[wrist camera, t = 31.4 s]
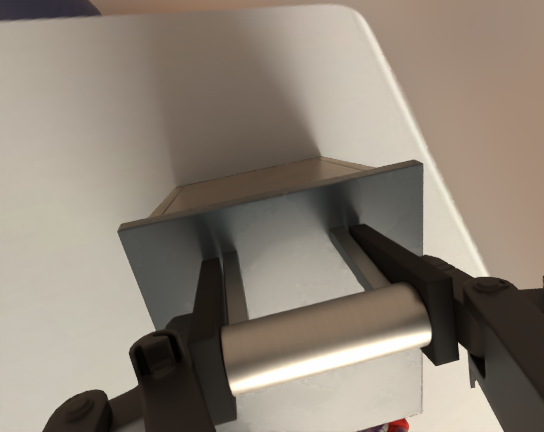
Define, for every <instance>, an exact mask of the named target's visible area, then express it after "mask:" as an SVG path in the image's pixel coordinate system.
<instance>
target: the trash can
mask: <svg viewBox="0 0 544 432" xmlns="http://www.w3.org/2000/svg"><path fill="white" fill-rule="evenodd" d="M374 168H375V167H370V166H365V165H361V164H356V163H351V162H346V161H341V160H337V159H332V158H327V157H322V156H321V157H316V158H311V159H307V160H302V161H297V162H293V163H288V164H283V165H279V166H274V167H269V168H265V169H260V170H255V171H251V172H246V173H241V174H237V175H232V176H227V177H223V178H218V179H213V180H208V181H204V182H199V183H194V184H190V185H185V186H180V187H176V188H175V189H174V190H173V191H172V192H171V193H170V194H169V196H168V197H167V198H166V199H165V200H164V201H163V202H162V203H161V204H160V205H159V206H158V207H157V208H156V210H155V211H154V212H153V213H152V214H151V215H150V216H149V217H148V218H151V217H155V216H160V215H164V214H169V213H173V212H178V211H182V210H187V209H191V208H196V207H201V206H205V205H210V204H214V203H219V202H223V201H228V200H232V199H237V198H242V197H246V196H251V195H255V194H260V193H264V192H269V191H273V190H278V189H283V188H287V187H292V186H296V185H301V184H305V183H310V182H314V181H319V180H324V179H328V178H333V177H337V176H342V175H346V174H351V173H355V172H360V171H364V170H369V169H374Z"/></svg>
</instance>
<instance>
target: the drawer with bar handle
mask: <svg viewBox="0 0 544 432" xmlns="http://www.w3.org/2000/svg"><path fill="white" fill-rule="evenodd" d="M364 223H365V224H367V225H368V226H370V227H371V228H373V229H375V230H376V231H378V232H380V233H381V234H383V235H384V236H386V237H388V238H389V239H391V240H393V241H394V242H396V243H398V244H399V245H401V246H402V247H404V248H406V249H407V250H409V251H411V252H412V253H414V254H416V255H417V256H423V163H421V162H419V161H416V160H410V161H405V162H401V163H396V164H392V165H387V166H383V167H378V168H374V169H369V170H364V171H360V172H355V173H351V174H346V175H342V176H337V177H333V178H328V179H324V180H319V181H314V182H310V183H305V184H301V185H296V186H292V187H287V188H283V189H278V190H273V191H269V192H264V193H260V194H255V195H251V196H246V197H242V198H237V199H232V200H228V201H223V202H219V203H214V204H210V205H205V206H201V207H196V208H191V209H187V210H182V211H178V212H173V213H169V214H164V215H160V216H155V217H151V218H146V219H141V220H137V221H132V222H128V223H123V224H121V225H120V227H119V229H118V231H117V232H118V235H119V237H120V240H121V243H122V245H123V248H124V250H125V253H126V255H127V258H128V260H129V263H130V265H131V268H132V271H133V273H134V276H135V278H136V281H137V283H138V286H139V288H140V291H141V294H142V296H143V299H144V301H145V304H146V306H147V309H148V311H149V314H150V317H151V319H152V322H153V324H154V327H155V329H156V331H158V330H163V329H165V326H166V325H167V324H168V323H169V322H170V320H171V319H172V318H173V317H176V316H180V315H184V314H188V313H192V312H193V307H194V301H195V296H196V290H197V285H198V279H199V274H200V268H201V263H202V261H204V260H208V259H213V258H217V257H219V260H220V264H221V268H222V273H223V277H224V286H225V299H226V312H227V325H226V326H222V327H221V328H220V348H221V355H222V361H223V367H224V371H225V376H226V380H227V384H228V387H229V390H230V392H231V394H232V396H233V397H236V407H237V420H235V421H231V422H227V423H224V424H220V425H216V426H215V429H216V431H217V432H357V431H360V430H364V429H368V428H371V427H375V426H378V425H382V424H385V423H389V422H392V421H396V420H399V419H403V418H407V417H410V416H414V415H417V414H421V413H422V351H421V350H420V349H419V348H421V347H424V346H427V345H429V344H430V342H431V340H432V325H431V320H430V317H429V313H428V310H427V308H426V305H425V303H424V301H423V299H422V297H421V296H420V294H419V293H418V291H417V290H416V289H415V287H414V286H413V285H411V284H410V283H408V282H399V283H395V284H391V283H390V282H389V280H388V279H387V278H386V277H385V276H384V274H383V273H382V272H381V271H380V270H379V268H378V267H377V266H376V265H375V264H374V262H373V261H372V260H371V259H370V258H369V256H368V255H367V254H366V253H365V252H364V251H363V249H362V248H361V247H360V246H359V245H358V243H357V242H356V241H355V240H354V239H353V237H352V236H351V235H350V231H349V227H351V226H355V225H360V224H364ZM357 280H358V281H359V283H360V284H361V285H360V284H359V283H358V281H357Z"/></svg>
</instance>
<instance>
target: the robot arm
mask: <svg viewBox="0 0 544 432" xmlns="http://www.w3.org/2000/svg"><path fill="white" fill-rule="evenodd" d="M349 231H350V235H351V236H352V237H353V239H354V240H355V241H356V242H357V243H358V245H359V246H360V247H361V248H362V249H363V251H364V252H365V253H366V254H367V255H368V256H369V258H370V259H371V260H372V261H373V262H374V264H375V265H376V266H377V267H378V268H379V270H380V271H381V272H382V273H383V274H384V276H385V277H386V278H387V279H388V280H389V282H390V283H391V284H395V283H399V282H408V283H410V284H411V285H413V286H414V287H415V289H416V290H417V291H418V293H419V294H420V296H421V297H422V299H423V301H424V303H425V305H426V308H427V310H428V313H429V317H430V320H431V325H432V340H431V342H430V344H429V345H427V346H424V347H421V348H419V349H420V350H421V351H422V352H423V353H424V354H425V355H426V356H427V357H428V358H429V359H430V360H431V362H432V363H433V364H434V365H435V366H438V365H442V364H446V363H449V362H453V361H457V360H459V350H458V342H459V343H460V344H461V345H462V346H463V347H464V348H465V349H467V351H468V363H469V376H470V385H471V388H475V381H476V380H477V381H478V383H479V385H480V387H481V389H482V391H483V393H484V395H485V396H486V398H487V400H488V402H489V404H490V406H491V408H492V410H493V412H494V414H495V416H496V417H497V419H498V421H499V423H500V425H501V427H502V429H503V431H504V432H544V276H543V288H539V289H526V290H518V289H517V288H516V287H515V286H514V285H513V284H512V283H510V282H508V281H506V280H503V279H500V278H494V277H477V278H473V277H472V276H470V275H468V274H466V273H465V272H463V271H461V270H459V269H457V268H455V267H454V266H452V265H450V264H448V263H447V262H445V261H443V260H441V259H440V258H437V257H433V256H429V255H423V256H417V255H416V254H414V253H412V252H411V251H409V250H407V249H406V248H404V247H402V246H401V245H399V244H398V243H396V242H394V241H393V240H391V239H389V238H388V237H386V236H384V235H383V234H381V233H380V232H378V231H376V230H375V229H373V228H371V227H370V226H368V225H367V224H365V223H364V224H360V225H355V226H351V227H349ZM357 281H358V280H357ZM358 283H359V281H358ZM359 284H360V283H359ZM360 285H361V284H360ZM226 325H227V312H226V299H225V286H224V277H223V273H222V268H221V264H220V260H219V257H217V258H213V259H208V260H204V261H202V263H201V268H200V274H199V279H198V285H197V290H196V296H195V301H194V307H193V312H192V313H188V314H184V315H180V316H176V317H173V318H172V319H171V320H170V322H169V323H168V324H167V325H166V326H165V329H163V330H158V331H155V332H152V333H150V334H147V335H145V336H143V337H142V338H140V339H139V340H138V341H136V342H135V343H134V344H133V345H132V347H131V348H130V351H129V356H130V359H131V362H132V365H133V368H134V371H135V374H136V377H137V380H138V386H136V387H135V388H133V389H132V390H130V391H128V392H126V393H124V394H122V395H120V396H117V397H115V398H113V399H111V400H108V397H107V395H106V393H105V392H104V391H102V390H90V391H85V392H83V393H80V394H77V395H75V396H73V397H72V398H70V399H68V400H67V401H65V402H64V403H63V404H62V405H61V406H60V407H58V408H57V409H56V410H55V412H54V413H53V414H52V416H51V417H50V418H49V420H48V422H47V424H46V426H45V428H44V429H43V431H42V432H217V431H216V429H215V426H216V425H220V424H224V423H227V422H231V421H235V420H237V407H236V397H233V396H232V394H231V392H230V390H229V387H228V384H227V380H226V376H225V371H224V367H223V361H222V355H221V348H220V328H221V327H222V326H226Z"/></svg>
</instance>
